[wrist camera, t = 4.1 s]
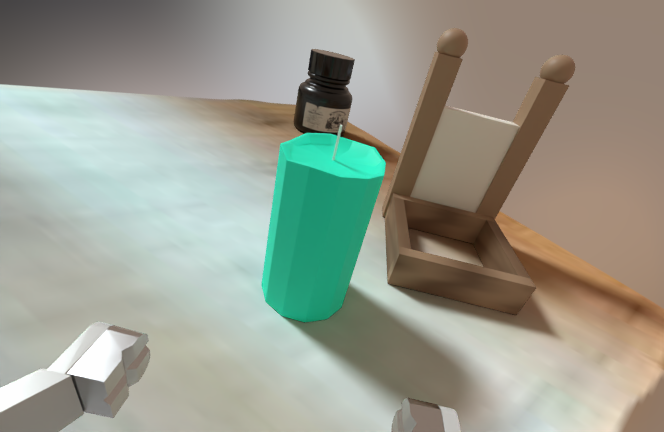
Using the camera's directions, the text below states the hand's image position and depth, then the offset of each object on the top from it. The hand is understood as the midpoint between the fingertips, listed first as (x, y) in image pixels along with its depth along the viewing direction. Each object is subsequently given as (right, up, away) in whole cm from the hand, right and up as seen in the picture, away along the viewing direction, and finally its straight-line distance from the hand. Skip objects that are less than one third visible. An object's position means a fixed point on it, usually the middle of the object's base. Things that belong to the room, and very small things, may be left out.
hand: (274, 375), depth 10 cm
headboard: (+13, +4, +25) cm, 29 cm away
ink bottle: (-1, +20, +46) cm, 50 cm away
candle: (0, 0, +13) cm, 13 cm away
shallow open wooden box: (+12, +1, +20) cm, 23 cm away
